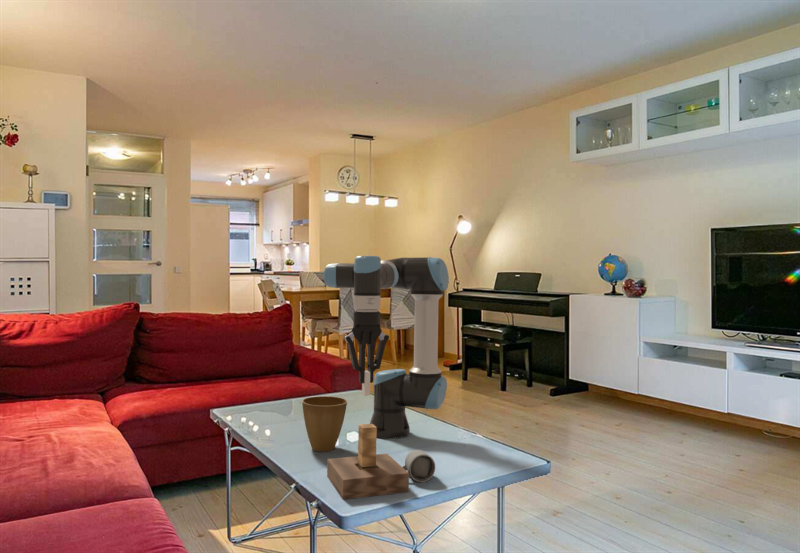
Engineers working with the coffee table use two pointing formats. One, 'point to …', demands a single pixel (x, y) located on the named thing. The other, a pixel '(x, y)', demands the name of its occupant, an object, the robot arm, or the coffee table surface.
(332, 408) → the plant pot
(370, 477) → the walnut socket block
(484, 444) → the coffee table surface
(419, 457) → the ceramic mug
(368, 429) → the oak peg
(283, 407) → the coffee table surface
